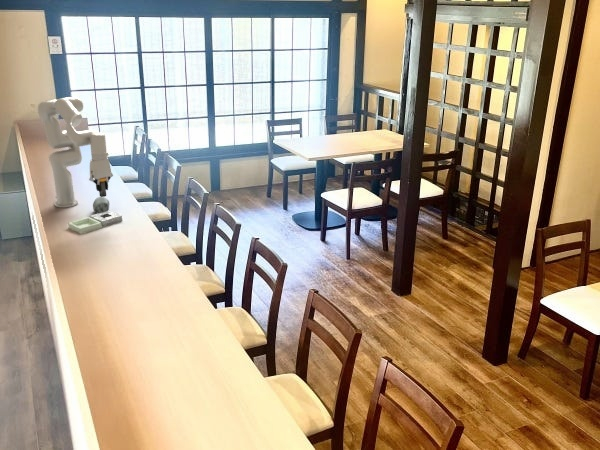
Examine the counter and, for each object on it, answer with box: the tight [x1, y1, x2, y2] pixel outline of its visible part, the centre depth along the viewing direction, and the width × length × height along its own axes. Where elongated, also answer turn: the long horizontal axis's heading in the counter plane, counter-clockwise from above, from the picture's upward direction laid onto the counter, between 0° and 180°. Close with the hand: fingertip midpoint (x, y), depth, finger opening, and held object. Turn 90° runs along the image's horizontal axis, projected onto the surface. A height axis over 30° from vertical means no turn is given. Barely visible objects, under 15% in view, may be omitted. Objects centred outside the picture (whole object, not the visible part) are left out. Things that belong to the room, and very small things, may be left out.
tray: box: [67, 216, 103, 235], centre depth 294 cm, size 12×12×3 cm
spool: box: [92, 196, 110, 214], centre depth 316 cm, size 14×10×10 cm
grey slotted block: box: [89, 209, 123, 228], centre depth 304 cm, size 12×12×3 cm
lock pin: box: [98, 178, 107, 198], centre depth 298 cm, size 5×5×10 cm
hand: (102, 189), depth 298 cm, fingers closed on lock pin, 3 cm apart
